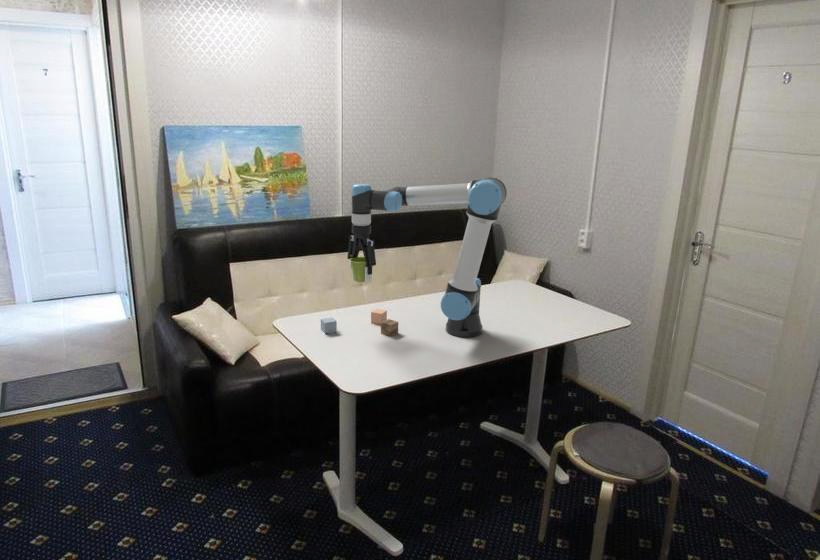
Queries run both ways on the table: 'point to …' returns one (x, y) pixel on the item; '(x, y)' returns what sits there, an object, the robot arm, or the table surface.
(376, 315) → the terracotta cube
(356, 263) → the plant pot
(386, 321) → the walnut cube
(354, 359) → the table surface
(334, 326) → the slate grey cube
